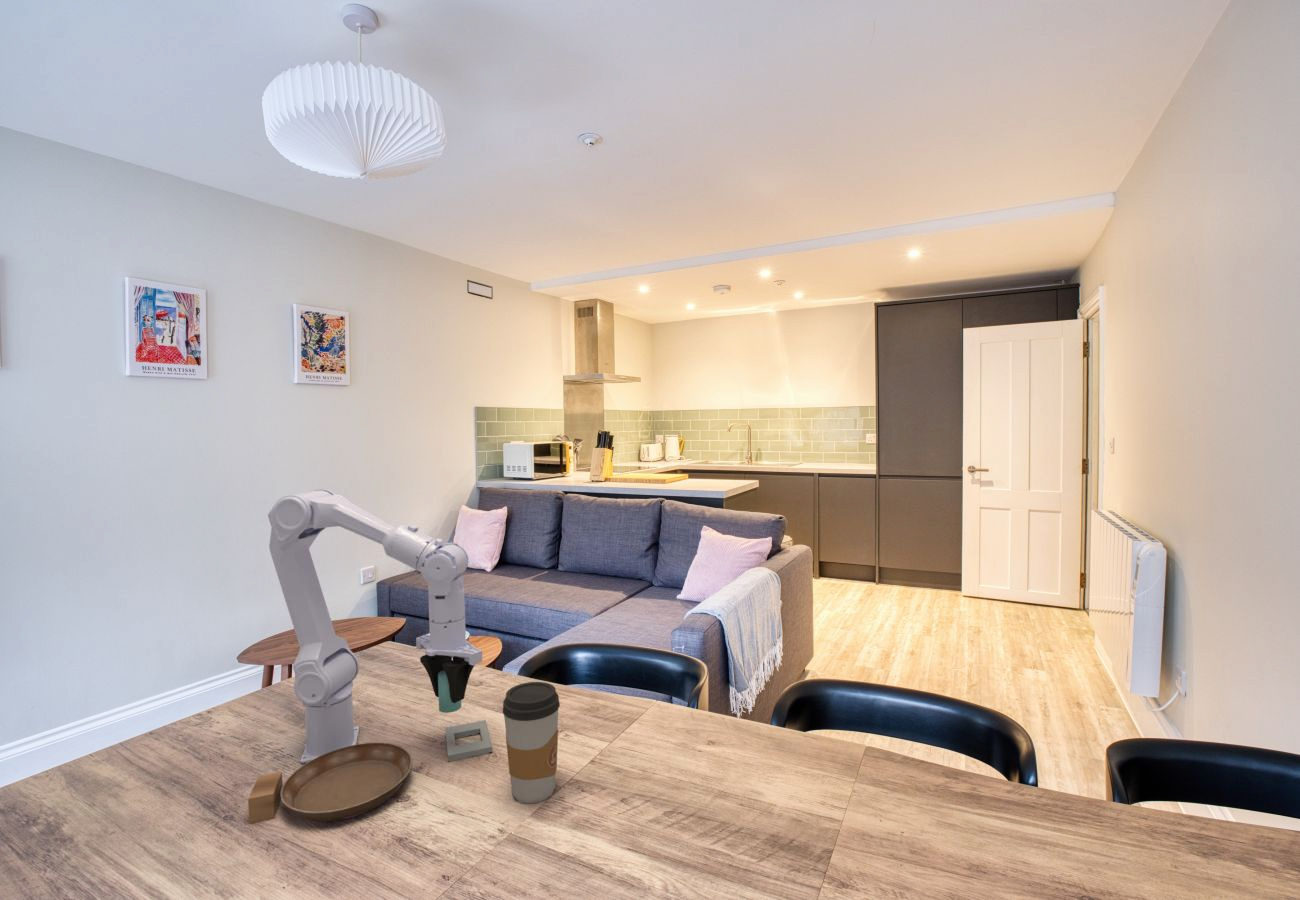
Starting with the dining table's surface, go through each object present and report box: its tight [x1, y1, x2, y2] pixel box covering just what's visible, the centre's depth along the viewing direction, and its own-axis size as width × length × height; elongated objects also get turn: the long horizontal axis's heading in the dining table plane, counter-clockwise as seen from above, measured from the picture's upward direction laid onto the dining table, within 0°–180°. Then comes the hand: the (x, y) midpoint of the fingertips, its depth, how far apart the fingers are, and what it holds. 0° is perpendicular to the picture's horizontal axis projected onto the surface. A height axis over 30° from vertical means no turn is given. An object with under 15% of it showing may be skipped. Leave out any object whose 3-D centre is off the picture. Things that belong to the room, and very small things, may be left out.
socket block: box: [445, 719, 493, 762], centre depth 105 cm, size 10×7×1 cm
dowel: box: [438, 670, 462, 714], centre depth 102 cm, size 4×4×6 cm
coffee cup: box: [502, 681, 560, 804], centre depth 90 cm, size 8×8×15 cm
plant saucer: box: [281, 741, 413, 823], centre depth 92 cm, size 18×18×3 cm
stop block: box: [247, 770, 284, 824], centre depth 88 cm, size 6×3×4 cm, turn 21°
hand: (449, 697), depth 102 cm, fingers closed on dowel, 4 cm apart
